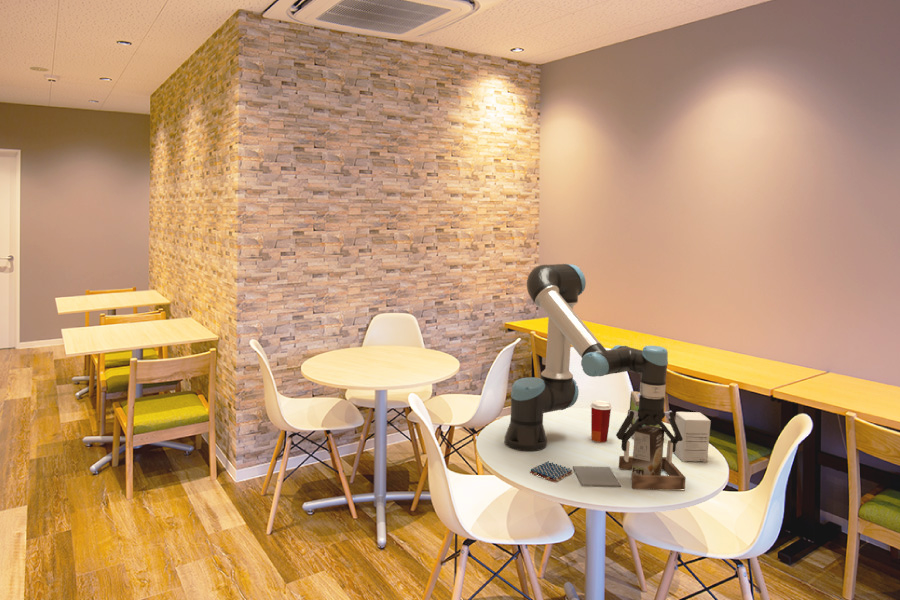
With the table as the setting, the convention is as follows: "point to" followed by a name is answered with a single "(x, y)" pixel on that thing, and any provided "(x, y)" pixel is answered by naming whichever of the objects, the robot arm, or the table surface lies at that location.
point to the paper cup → (600, 420)
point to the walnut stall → (656, 476)
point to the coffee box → (648, 451)
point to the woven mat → (551, 471)
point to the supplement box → (692, 436)
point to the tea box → (636, 407)
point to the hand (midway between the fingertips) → (647, 461)
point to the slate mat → (596, 476)
